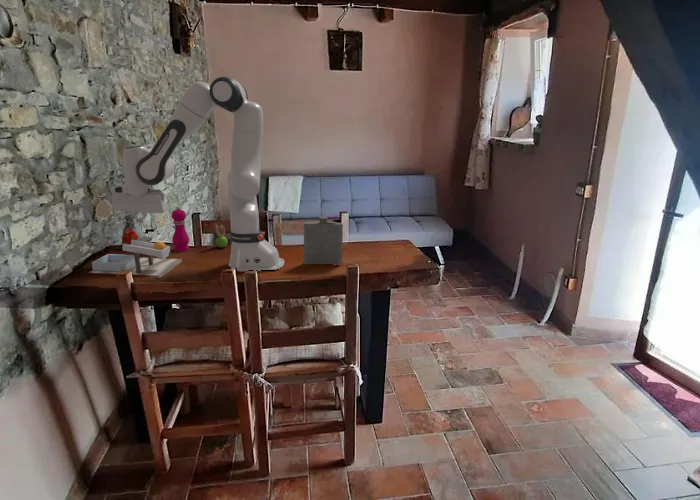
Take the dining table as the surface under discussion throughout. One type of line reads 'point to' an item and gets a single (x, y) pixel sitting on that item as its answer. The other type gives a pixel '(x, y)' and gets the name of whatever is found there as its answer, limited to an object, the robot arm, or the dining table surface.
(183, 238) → the pepper mill
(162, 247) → the ball
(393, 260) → the dining table surface
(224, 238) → the snail figurine
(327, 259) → the hip flask
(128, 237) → the red clay folk toy
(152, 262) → the base board
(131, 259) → the grey open tray
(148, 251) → the lever
